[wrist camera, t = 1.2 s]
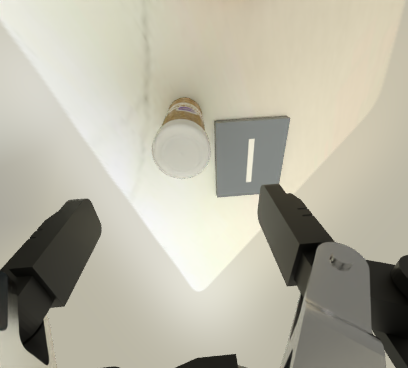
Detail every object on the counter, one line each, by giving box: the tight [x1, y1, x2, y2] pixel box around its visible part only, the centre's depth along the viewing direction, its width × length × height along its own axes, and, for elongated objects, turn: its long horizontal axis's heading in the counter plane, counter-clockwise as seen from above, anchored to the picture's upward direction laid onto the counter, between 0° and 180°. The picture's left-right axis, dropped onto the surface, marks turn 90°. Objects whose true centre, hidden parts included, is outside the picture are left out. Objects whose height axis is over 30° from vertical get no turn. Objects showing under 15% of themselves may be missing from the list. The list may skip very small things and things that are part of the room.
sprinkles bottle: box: [152, 98, 210, 179], centre depth 21 cm, size 5×5×13 cm
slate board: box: [215, 116, 290, 197], centre depth 30 cm, size 12×10×1 cm
